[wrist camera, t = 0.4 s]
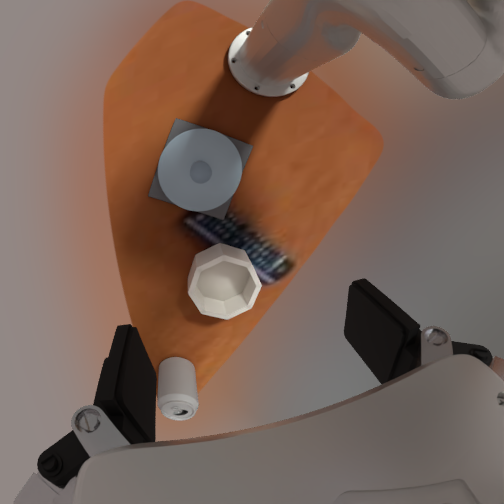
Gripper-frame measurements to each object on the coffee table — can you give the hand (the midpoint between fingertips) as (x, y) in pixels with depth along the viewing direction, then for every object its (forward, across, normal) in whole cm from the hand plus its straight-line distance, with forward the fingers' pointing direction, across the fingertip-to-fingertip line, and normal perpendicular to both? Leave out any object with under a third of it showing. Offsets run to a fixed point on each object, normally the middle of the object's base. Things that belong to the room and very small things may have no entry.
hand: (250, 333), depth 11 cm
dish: (+32, -1, +13) cm, 34 cm away
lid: (+31, 0, -4) cm, 31 cm away
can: (+32, +12, +33) cm, 47 cm away
